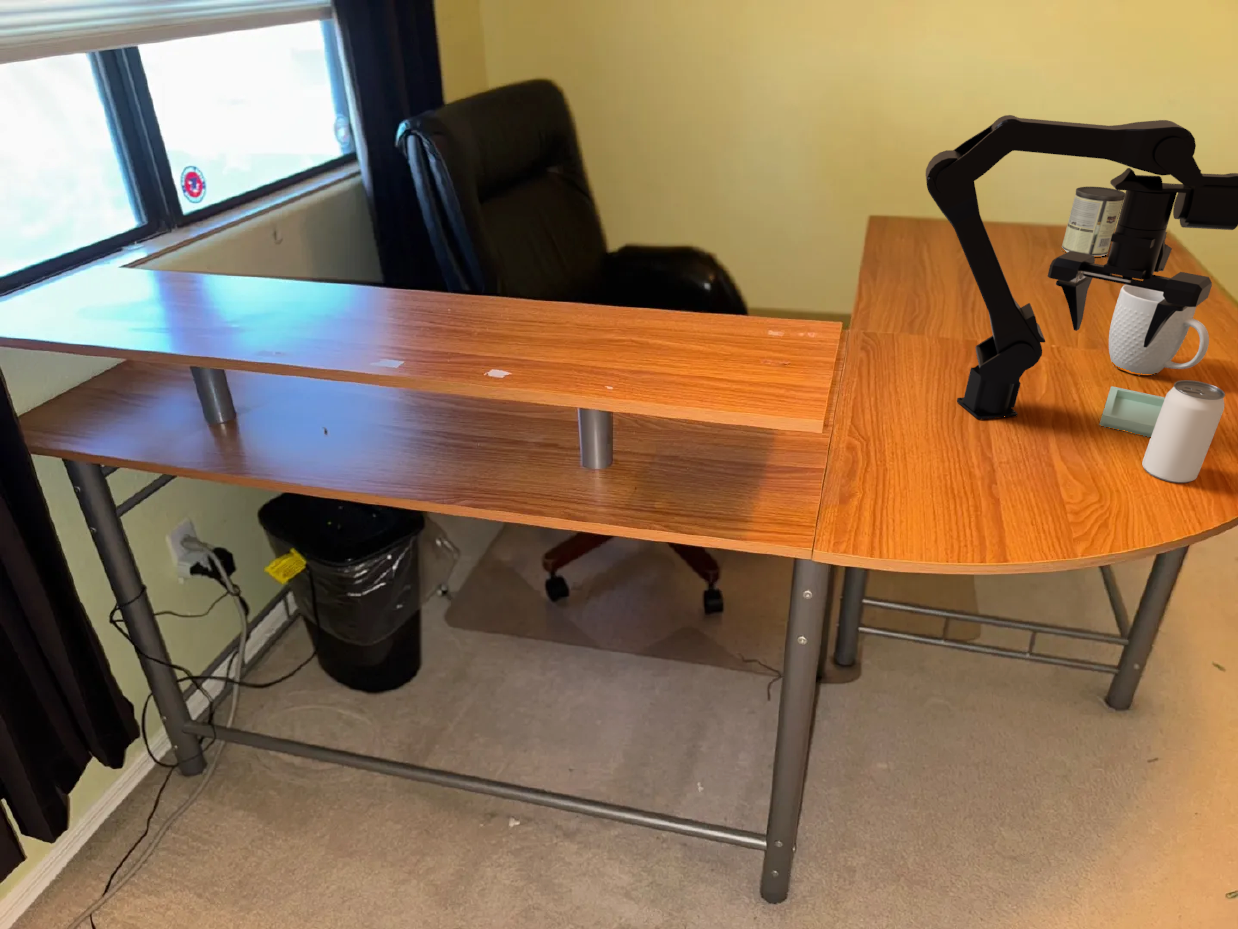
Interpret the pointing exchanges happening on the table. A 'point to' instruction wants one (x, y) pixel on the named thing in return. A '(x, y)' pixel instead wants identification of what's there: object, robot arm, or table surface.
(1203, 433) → the can
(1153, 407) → the tray
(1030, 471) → the table surface
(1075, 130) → the robot arm
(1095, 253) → the coffee can
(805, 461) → the table surface
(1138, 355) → the mug
